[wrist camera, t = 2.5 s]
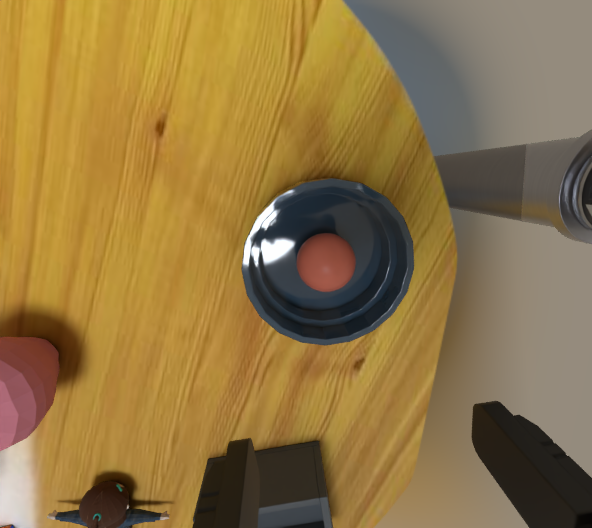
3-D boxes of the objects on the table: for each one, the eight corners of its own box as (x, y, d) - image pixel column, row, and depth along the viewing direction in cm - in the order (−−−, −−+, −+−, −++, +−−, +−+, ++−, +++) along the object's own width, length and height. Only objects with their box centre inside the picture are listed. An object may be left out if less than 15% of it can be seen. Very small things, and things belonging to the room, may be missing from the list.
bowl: (387, 167, 27) (410, 165, 22) (395, 307, 31) (416, 330, 26) (234, 191, 27) (225, 195, 22) (262, 328, 31) (260, 356, 26)
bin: (318, 440, 36) (327, 497, 29) (331, 518, 40) (341, 583, 33) (207, 458, 36) (192, 519, 29) (231, 535, 40) (222, 603, 33)
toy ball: (345, 224, 28) (359, 234, 23) (350, 275, 29) (365, 295, 24) (291, 233, 28) (293, 245, 23) (299, 283, 29) (303, 306, 24)
